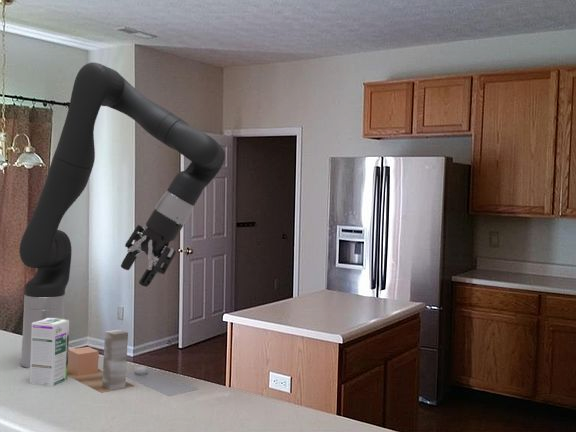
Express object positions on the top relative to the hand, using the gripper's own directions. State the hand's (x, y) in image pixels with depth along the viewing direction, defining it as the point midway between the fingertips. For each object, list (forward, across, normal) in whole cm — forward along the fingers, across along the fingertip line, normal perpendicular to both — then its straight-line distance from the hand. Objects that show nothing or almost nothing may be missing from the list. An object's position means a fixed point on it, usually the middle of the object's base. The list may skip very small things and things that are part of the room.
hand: (133, 276), depth 134 cm
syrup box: (+30, 0, -4) cm, 30 cm away
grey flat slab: (+18, +13, +12) cm, 25 cm away
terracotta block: (+26, -3, +4) cm, 26 cm away
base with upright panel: (+25, +3, +4) cm, 25 cm away
